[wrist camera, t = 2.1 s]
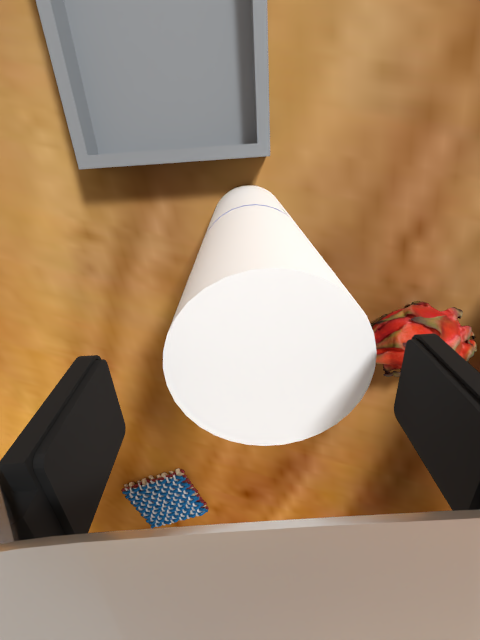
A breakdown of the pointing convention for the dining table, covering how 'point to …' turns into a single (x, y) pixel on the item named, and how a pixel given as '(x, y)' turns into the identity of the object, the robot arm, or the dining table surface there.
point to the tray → (161, 78)
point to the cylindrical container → (265, 330)
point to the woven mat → (165, 498)
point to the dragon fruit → (419, 320)
